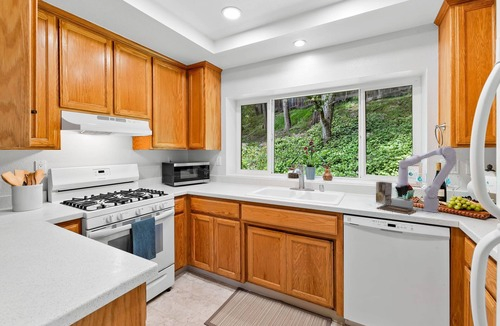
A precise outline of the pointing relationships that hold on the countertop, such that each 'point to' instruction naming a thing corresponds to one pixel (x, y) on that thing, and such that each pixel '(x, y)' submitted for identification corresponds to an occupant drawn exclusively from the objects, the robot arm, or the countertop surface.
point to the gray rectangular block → (402, 202)
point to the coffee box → (383, 192)
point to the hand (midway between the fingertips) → (402, 196)
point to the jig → (397, 209)
